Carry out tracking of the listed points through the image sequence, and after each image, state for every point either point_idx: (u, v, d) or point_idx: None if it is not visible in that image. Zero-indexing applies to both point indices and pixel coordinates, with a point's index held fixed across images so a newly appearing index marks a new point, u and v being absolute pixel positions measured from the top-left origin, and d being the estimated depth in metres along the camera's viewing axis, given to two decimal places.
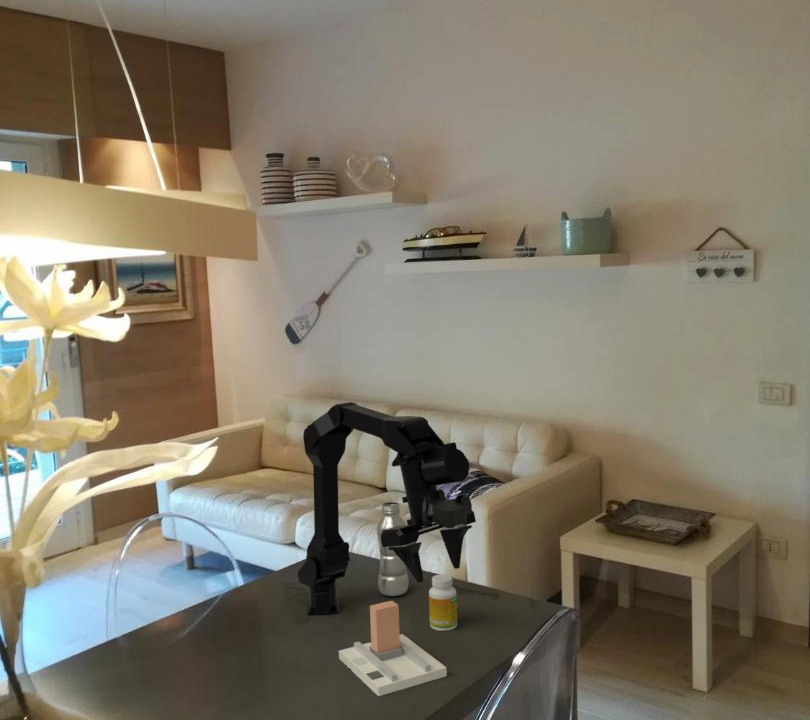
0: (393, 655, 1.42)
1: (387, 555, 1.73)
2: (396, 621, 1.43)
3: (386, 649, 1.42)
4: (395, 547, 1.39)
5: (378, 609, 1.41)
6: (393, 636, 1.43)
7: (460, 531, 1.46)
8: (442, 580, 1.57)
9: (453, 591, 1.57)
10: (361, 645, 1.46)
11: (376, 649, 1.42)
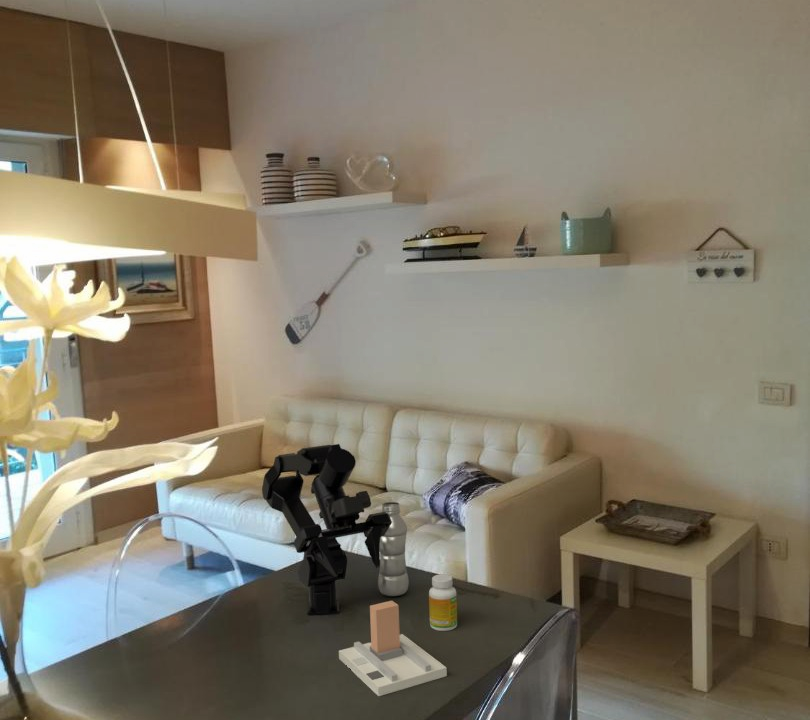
0: (393, 655, 1.42)
1: (387, 555, 1.73)
2: (396, 621, 1.43)
3: (386, 649, 1.42)
4: (307, 548, 1.53)
5: (378, 609, 1.41)
6: (393, 636, 1.43)
7: (372, 530, 1.57)
8: (442, 580, 1.57)
9: (453, 591, 1.57)
10: (361, 645, 1.46)
11: (376, 649, 1.42)
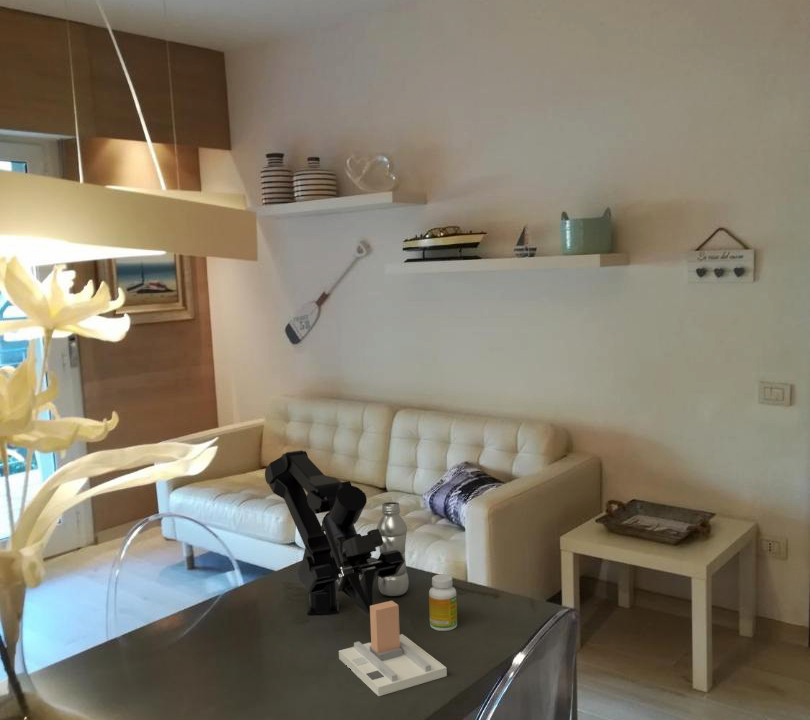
0: (393, 655, 1.42)
1: None
2: (396, 621, 1.43)
3: (386, 649, 1.42)
4: (339, 584, 1.51)
5: (378, 609, 1.41)
6: (393, 636, 1.43)
7: (365, 574, 1.51)
8: (442, 580, 1.57)
9: (453, 591, 1.57)
10: (361, 645, 1.46)
11: (376, 649, 1.42)
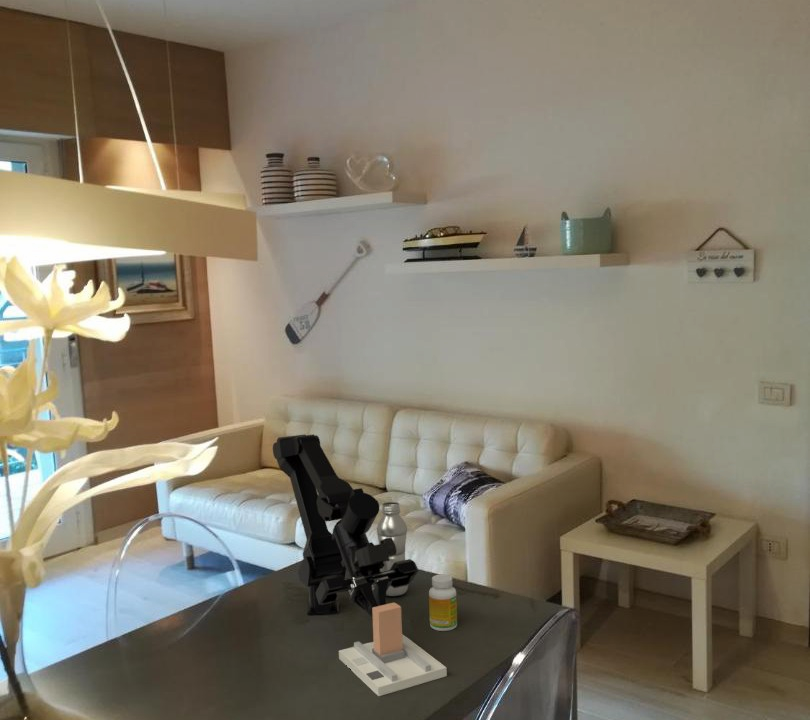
0: (396, 657, 1.41)
1: None
2: (399, 623, 1.42)
3: (389, 651, 1.42)
4: (351, 595, 1.47)
5: (381, 611, 1.41)
6: (395, 638, 1.42)
7: (378, 584, 1.46)
8: (442, 580, 1.57)
9: (453, 591, 1.57)
10: (361, 645, 1.46)
11: (379, 651, 1.41)
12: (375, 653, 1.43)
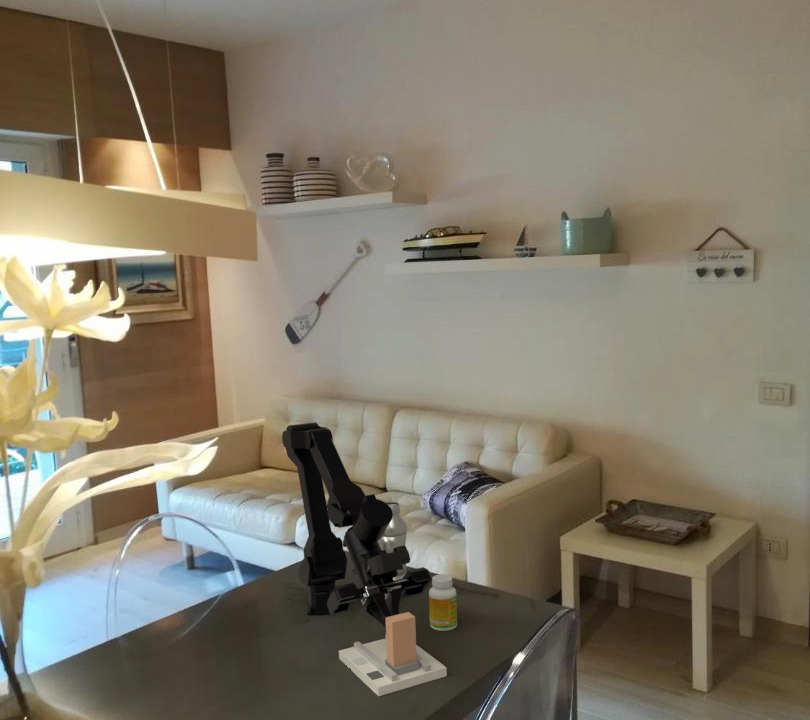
0: (410, 669, 1.37)
1: None
2: (413, 633, 1.38)
3: (402, 663, 1.37)
4: (363, 604, 1.42)
5: (395, 621, 1.36)
6: (409, 649, 1.38)
7: (391, 593, 1.42)
8: (442, 580, 1.57)
9: (453, 591, 1.57)
10: (361, 645, 1.46)
11: (392, 663, 1.37)
12: (388, 664, 1.38)
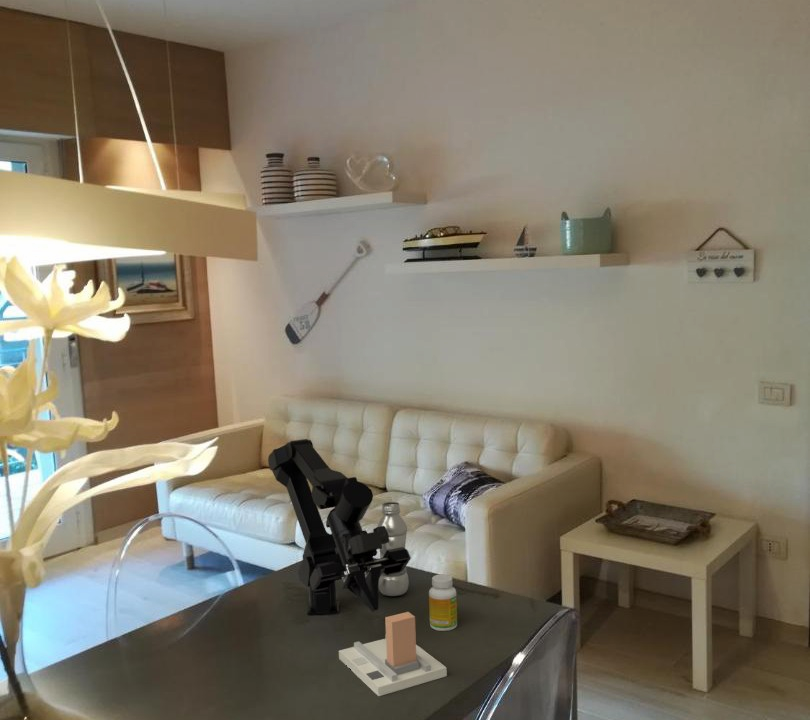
0: (409, 669, 1.37)
1: None
2: (412, 633, 1.38)
3: (402, 662, 1.37)
4: (344, 582, 1.49)
5: (394, 621, 1.36)
6: (409, 649, 1.38)
7: (371, 571, 1.49)
8: (442, 580, 1.57)
9: (453, 591, 1.57)
10: (361, 645, 1.46)
11: (392, 662, 1.37)
12: (388, 664, 1.38)
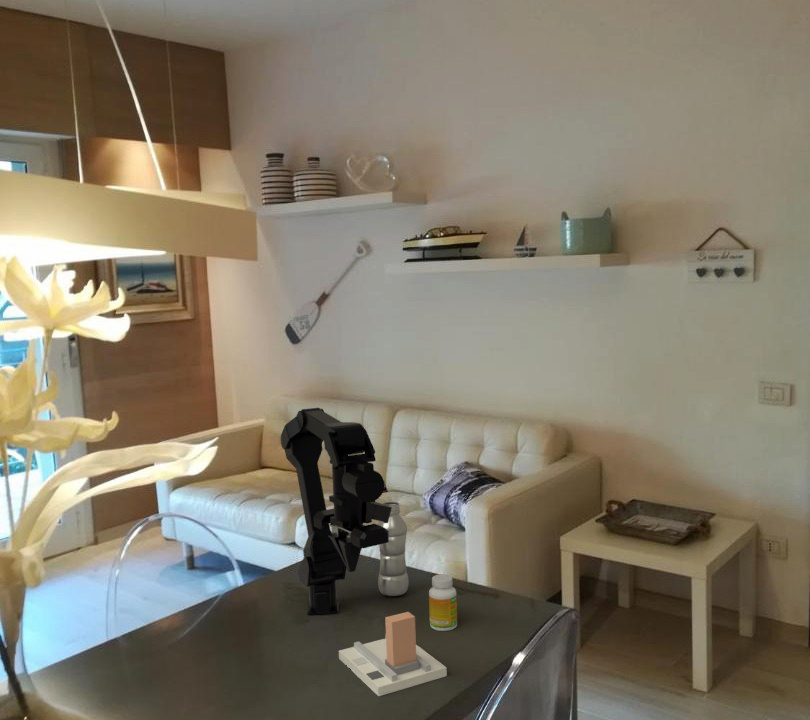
0: (409, 669, 1.37)
1: (387, 555, 1.73)
2: (412, 633, 1.38)
3: (402, 662, 1.37)
4: None
5: (394, 621, 1.36)
6: (409, 649, 1.38)
7: None
8: (442, 580, 1.57)
9: (453, 591, 1.57)
10: (361, 645, 1.46)
11: (392, 662, 1.37)
12: (388, 664, 1.38)
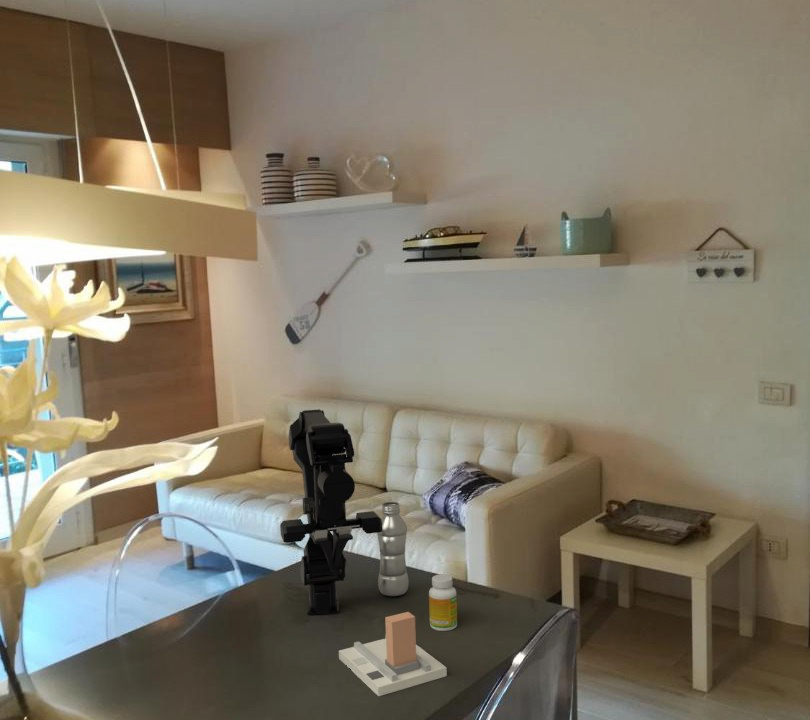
0: (409, 669, 1.37)
1: (387, 555, 1.73)
2: (412, 633, 1.38)
3: (402, 662, 1.37)
4: (350, 534, 1.54)
5: (394, 621, 1.36)
6: (409, 649, 1.38)
7: None
8: (442, 580, 1.57)
9: (453, 591, 1.57)
10: (361, 645, 1.46)
11: (392, 662, 1.37)
12: (388, 664, 1.38)
